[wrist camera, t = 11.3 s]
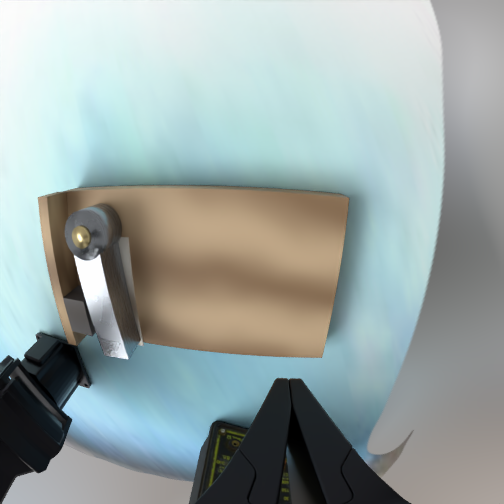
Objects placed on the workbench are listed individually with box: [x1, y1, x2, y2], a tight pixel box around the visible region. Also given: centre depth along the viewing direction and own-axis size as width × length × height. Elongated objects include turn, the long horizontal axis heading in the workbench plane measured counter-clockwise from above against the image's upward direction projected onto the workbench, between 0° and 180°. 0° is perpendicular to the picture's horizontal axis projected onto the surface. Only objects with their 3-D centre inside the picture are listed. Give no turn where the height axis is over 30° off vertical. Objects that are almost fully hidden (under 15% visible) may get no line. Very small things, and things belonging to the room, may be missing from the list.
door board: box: [38, 185, 349, 358], centre depth 18 cm, size 12×20×4 cm, turn 87°
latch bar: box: [65, 203, 141, 359], centre depth 17 cm, size 11×3×3 cm, turn 2°
